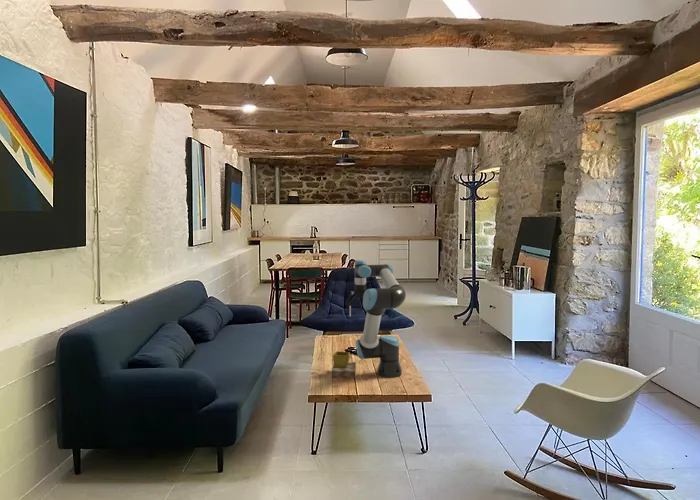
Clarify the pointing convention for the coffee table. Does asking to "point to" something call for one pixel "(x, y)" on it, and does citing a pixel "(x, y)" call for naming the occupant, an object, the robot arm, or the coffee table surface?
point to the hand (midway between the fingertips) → (360, 316)
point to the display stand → (344, 371)
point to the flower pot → (341, 359)
